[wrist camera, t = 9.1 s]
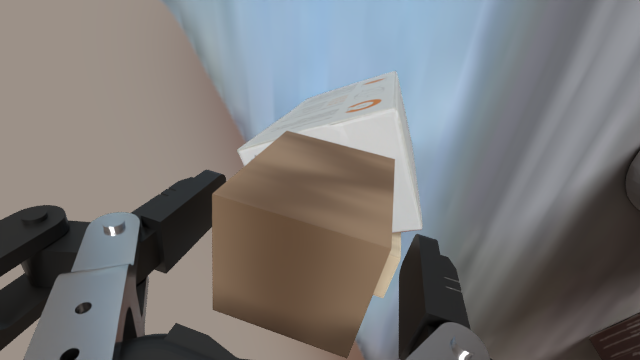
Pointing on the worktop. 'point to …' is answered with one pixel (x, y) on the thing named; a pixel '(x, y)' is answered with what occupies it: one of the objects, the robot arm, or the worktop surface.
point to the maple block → (389, 266)
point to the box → (619, 340)
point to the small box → (358, 134)
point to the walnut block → (303, 239)
